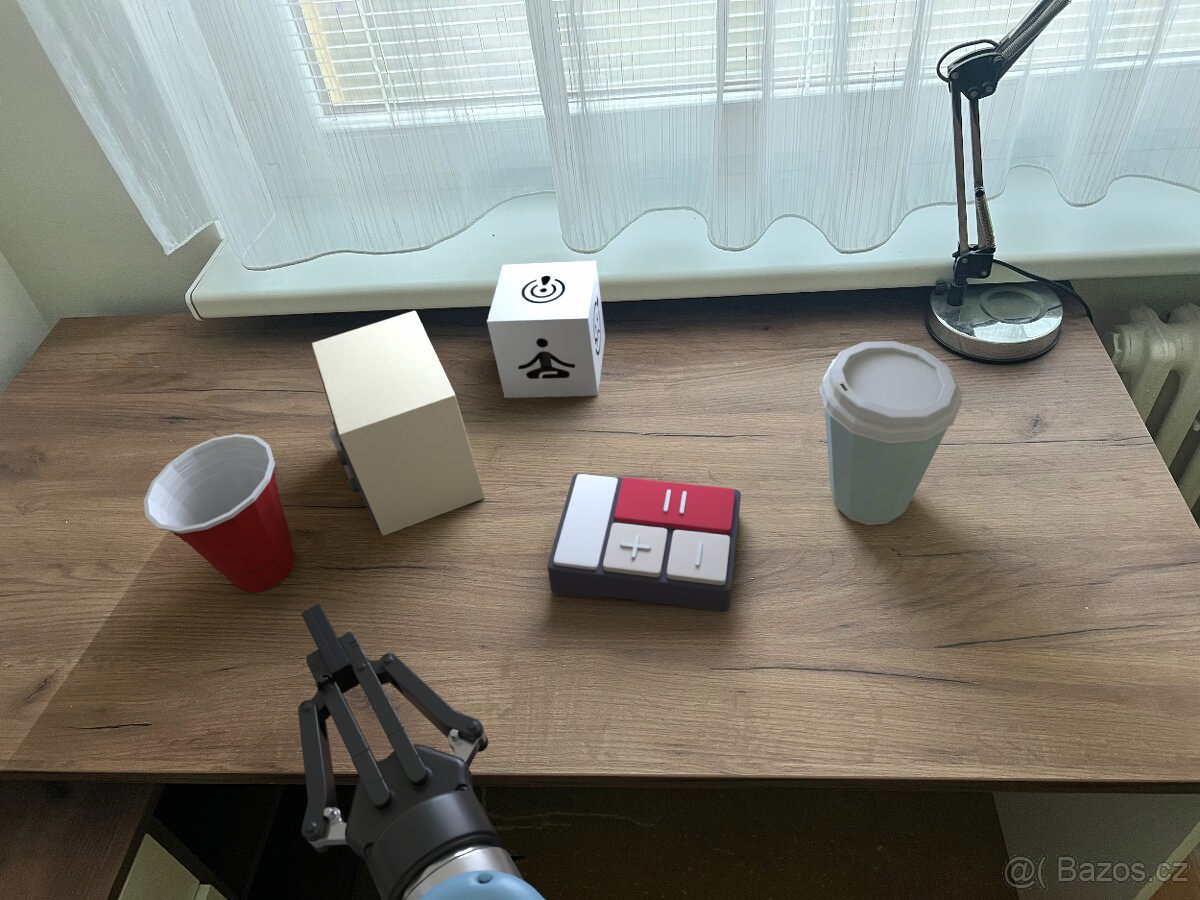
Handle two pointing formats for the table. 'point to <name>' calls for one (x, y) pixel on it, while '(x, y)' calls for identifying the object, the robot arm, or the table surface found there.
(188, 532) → the plastic cup
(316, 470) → the table surface
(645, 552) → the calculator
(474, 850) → the robot arm
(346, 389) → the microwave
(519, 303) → the icon cube
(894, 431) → the disposable coffee cup
